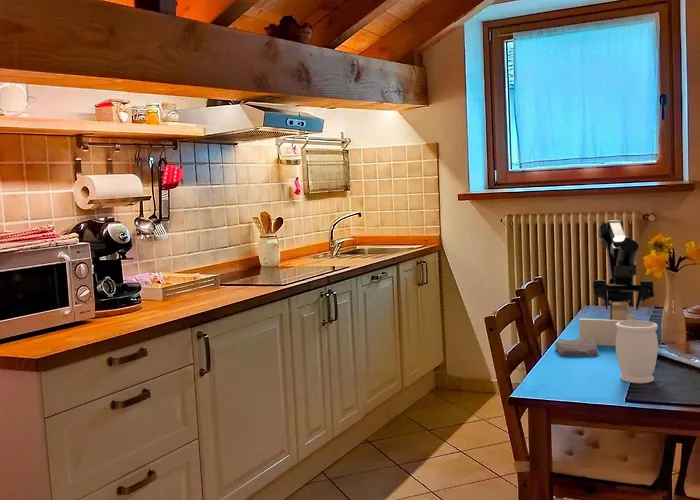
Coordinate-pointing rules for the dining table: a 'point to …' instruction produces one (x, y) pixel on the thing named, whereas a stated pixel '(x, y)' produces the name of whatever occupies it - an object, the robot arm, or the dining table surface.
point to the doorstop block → (619, 311)
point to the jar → (636, 350)
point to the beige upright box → (599, 330)
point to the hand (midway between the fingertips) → (621, 309)
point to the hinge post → (631, 316)
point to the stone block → (577, 347)
